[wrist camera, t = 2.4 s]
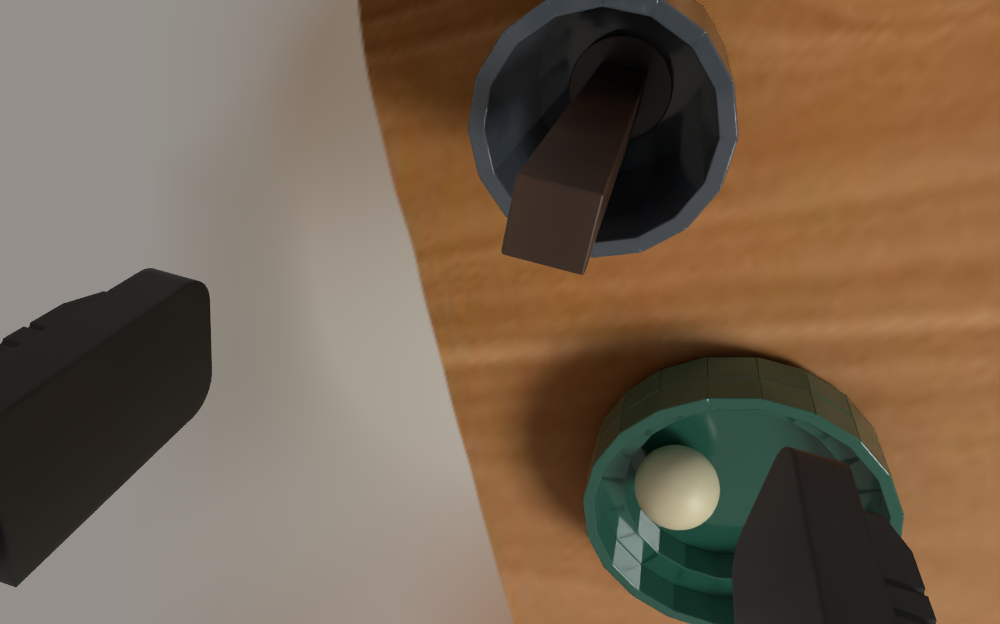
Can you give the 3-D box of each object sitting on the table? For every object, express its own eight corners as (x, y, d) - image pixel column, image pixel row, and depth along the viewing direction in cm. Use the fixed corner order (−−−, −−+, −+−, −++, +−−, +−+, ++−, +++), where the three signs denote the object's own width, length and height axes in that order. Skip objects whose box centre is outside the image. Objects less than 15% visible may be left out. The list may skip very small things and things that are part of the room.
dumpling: (628, 479, 42) (621, 533, 38) (649, 418, 40) (644, 469, 36) (704, 501, 41) (705, 558, 38) (729, 441, 39) (733, 495, 35)
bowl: (569, 526, 45) (557, 582, 41) (632, 317, 38) (624, 361, 34) (817, 602, 43) (828, 668, 40) (934, 398, 36) (962, 453, 32)
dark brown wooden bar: (563, 122, 34) (444, 286, 18) (584, 21, 31) (471, 106, 16) (657, 144, 33) (621, 334, 17) (686, 43, 31) (675, 154, 15)
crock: (512, 153, 36) (453, 222, 27) (549, -45, 31) (492, -38, 23) (691, 196, 34) (689, 283, 26) (754, -3, 30) (778, 21, 22)
